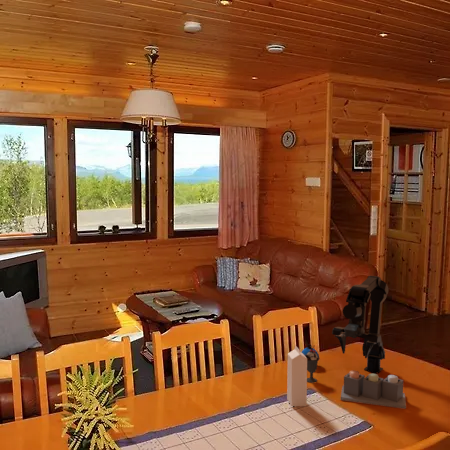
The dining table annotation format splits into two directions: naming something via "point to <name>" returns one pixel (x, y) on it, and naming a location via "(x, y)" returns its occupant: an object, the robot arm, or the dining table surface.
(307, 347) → the ornament
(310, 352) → the sundae
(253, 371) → the dining table surface
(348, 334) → the robot arm
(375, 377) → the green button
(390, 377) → the white rounded dome
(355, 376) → the salmon orange ball
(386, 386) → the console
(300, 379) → the milk
